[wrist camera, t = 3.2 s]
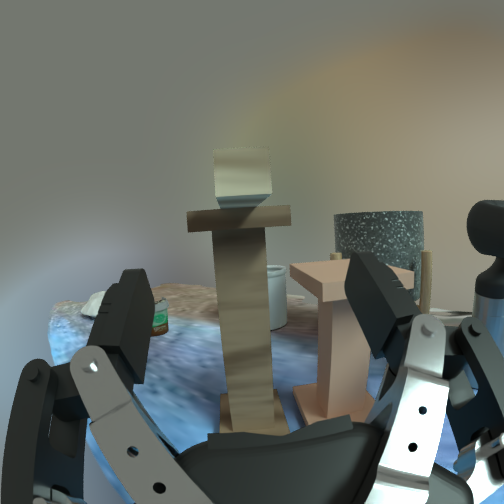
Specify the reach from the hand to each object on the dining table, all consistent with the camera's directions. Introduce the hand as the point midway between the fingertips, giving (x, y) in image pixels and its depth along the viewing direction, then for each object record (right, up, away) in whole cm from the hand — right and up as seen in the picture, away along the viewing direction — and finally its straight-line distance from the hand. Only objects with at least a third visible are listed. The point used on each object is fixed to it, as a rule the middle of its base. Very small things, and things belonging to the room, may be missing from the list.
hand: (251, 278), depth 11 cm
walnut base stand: (0, -26, +27) cm, 37 cm away
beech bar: (-2, +5, +19) cm, 20 cm away
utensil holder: (+4, -22, +76) cm, 79 cm away
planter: (+32, -22, +53) cm, 66 cm away
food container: (-28, -24, +70) cm, 79 cm away
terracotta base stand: (+14, -25, +28) cm, 40 cm away
